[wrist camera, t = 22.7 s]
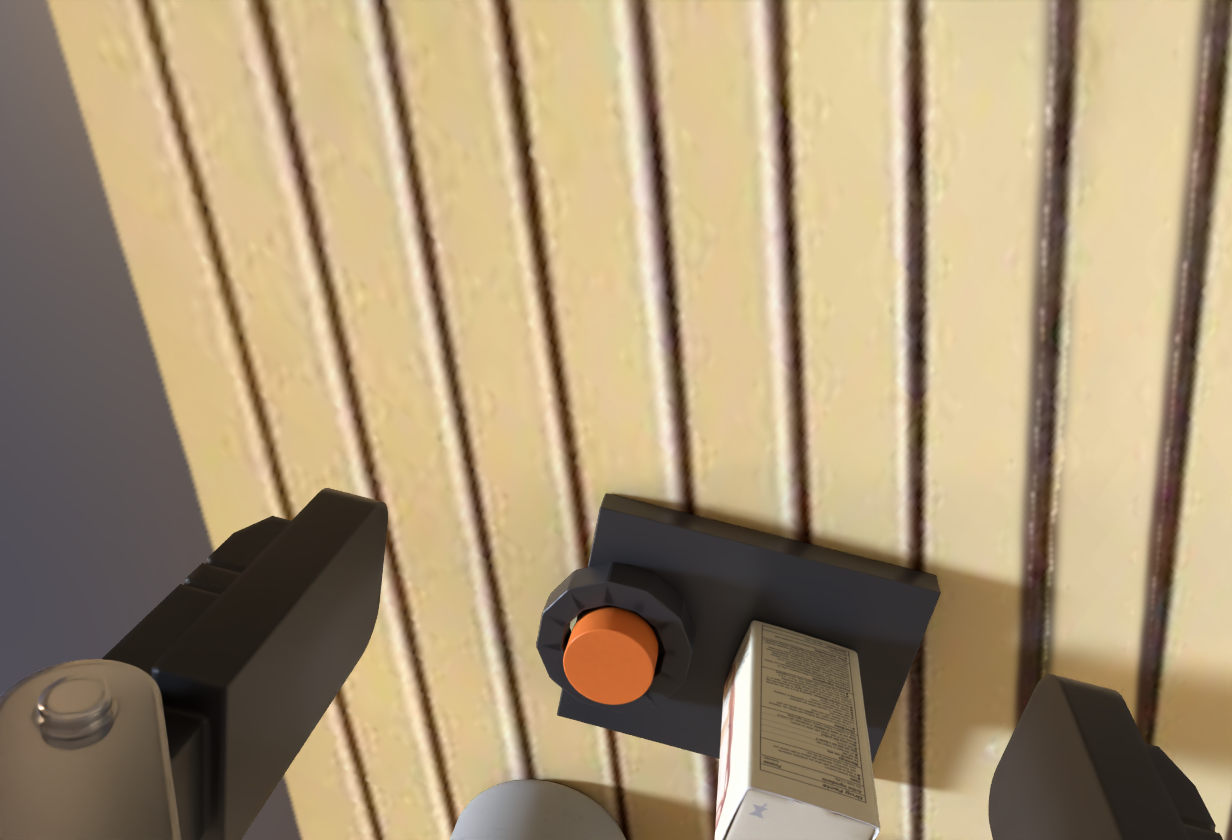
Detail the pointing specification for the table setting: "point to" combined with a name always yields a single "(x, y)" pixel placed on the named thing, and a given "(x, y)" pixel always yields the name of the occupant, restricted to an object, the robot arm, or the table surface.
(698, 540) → the black button panel
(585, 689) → the button
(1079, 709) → the robot arm
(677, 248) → the table surface
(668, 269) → the table surface
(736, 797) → the white medicine box
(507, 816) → the water bottle
